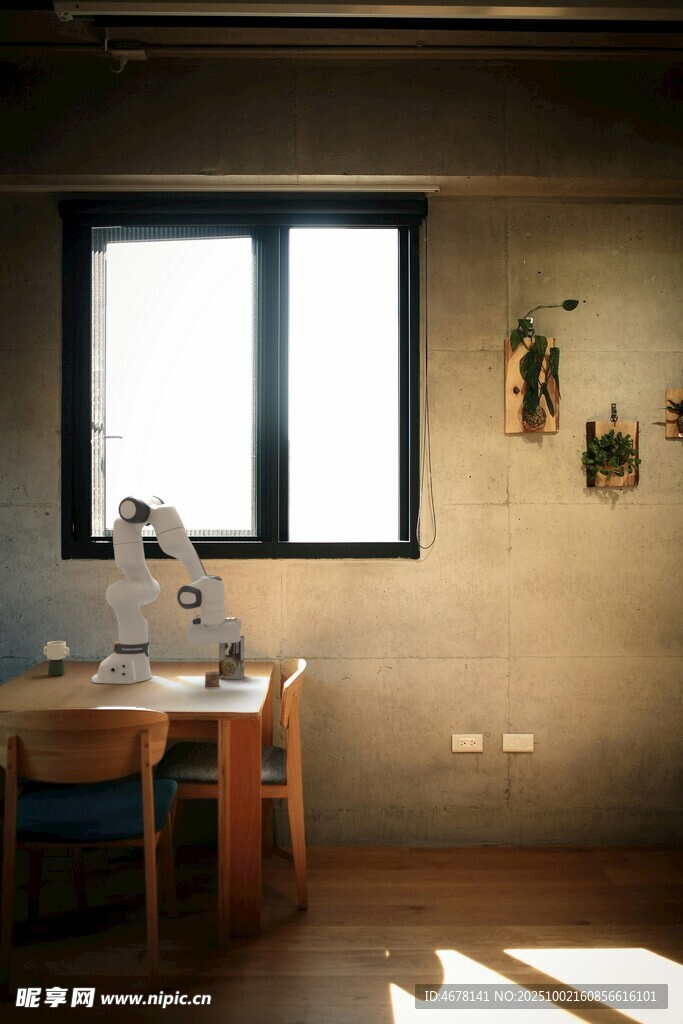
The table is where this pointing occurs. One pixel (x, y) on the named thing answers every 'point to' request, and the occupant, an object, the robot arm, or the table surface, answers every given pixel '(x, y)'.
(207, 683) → the walnut cube
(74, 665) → the table surface
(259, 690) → the table surface
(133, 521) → the robot arm
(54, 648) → the trophy cup
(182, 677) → the table surface
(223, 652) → the coffee box
